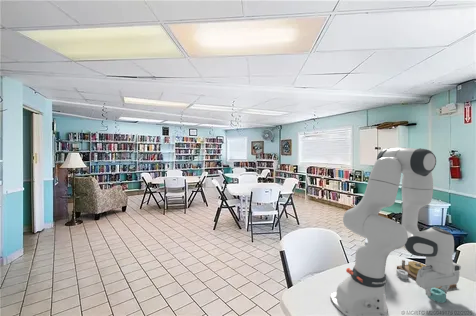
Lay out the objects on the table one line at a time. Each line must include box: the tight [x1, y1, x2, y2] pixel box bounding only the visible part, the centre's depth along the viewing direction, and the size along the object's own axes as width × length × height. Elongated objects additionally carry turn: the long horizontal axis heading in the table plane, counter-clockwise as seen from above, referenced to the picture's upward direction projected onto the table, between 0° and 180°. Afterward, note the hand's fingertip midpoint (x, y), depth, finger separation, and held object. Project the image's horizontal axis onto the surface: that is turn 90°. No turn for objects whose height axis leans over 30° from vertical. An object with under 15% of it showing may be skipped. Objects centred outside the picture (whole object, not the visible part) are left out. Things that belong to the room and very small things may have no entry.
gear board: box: [396, 259, 458, 290], centre depth 114 cm, size 14×19×6 cm
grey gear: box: [395, 269, 409, 280], centre depth 114 cm, size 4×4×2 cm
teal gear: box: [427, 288, 447, 304], centre depth 99 cm, size 6×6×3 cm
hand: (436, 294), depth 99 cm, fingers open, 7 cm apart
